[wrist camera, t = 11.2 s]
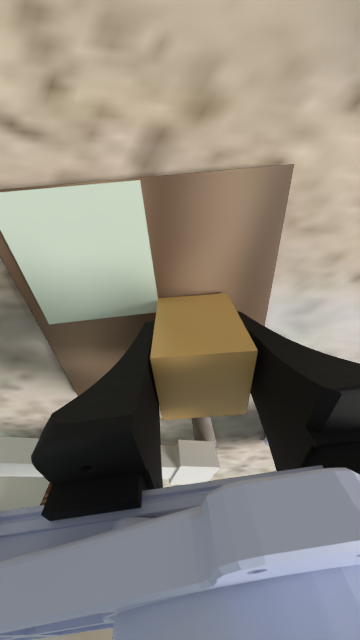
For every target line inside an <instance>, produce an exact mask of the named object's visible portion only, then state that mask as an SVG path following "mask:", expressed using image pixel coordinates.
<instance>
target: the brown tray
mask: <svg viewBox="0 0 360 640" xmlns="http://www.w3.org/2000/svg"><path fill="white" fill-rule="evenodd" d="M293 168H294V164H289V165H278V166H266V167H255V168H244V169H232V170H221V171H209V172H198V173H186V174H175V175H164V176H152V177H141V178H129V179H118V180H106V181H95V182H84V183H72V184H61V185H49V186H38V187H26V188H15V189H4V190H0V192H10V191H21V190H32V189H44V188H55V187H66V186H78V185H89V184H101V183H112V182H123V181H135V180H140V183H141V190H142V196H143V203H144V209H145V216H146V223H147V229H148V236H149V243H150V249H151V256H152V262H153V269H154V276H155V282H156V289H157V296H158V298H168V297H182V296H195V295H208V294H222V293H227V294H228V296H229V298H230V300H231V302H232V303H233V305H234V307H235V309H236V311H237V312H238V311H240V312H242V313H243V314H245V315H247V316H248V317H250V318H252V319H253V320H255V321H256V322H258V323H260V324H261V325H263V326H265V320H266V315H267V309H268V304H269V298H270V293H271V288H272V282H273V277H274V271H275V266H276V260H277V255H278V249H279V244H280V239H281V233H282V228H283V222H284V217H285V211H286V206H287V200H288V195H289V190H290V184H291V179H292V173H293ZM0 256H1V258H2V260H3V261H4V263H5V265H6V267H7V269H8V270H9V272H10V274H11V276H12V278H13V279H14V281H15V283H16V285H17V287H18V289H19V290H20V292H21V294H22V296H23V298H24V299H25V301H26V303H27V305H28V307H29V308H30V310H31V312H32V314H33V316H34V317H35V319H36V321H37V323H38V325H39V326H40V328H41V330H42V332H43V334H44V336H45V337H46V339H47V341H48V343H49V345H50V346H51V348H52V350H53V352H54V354H55V355H56V357H57V359H58V361H59V363H60V364H61V366H62V368H63V370H64V372H65V374H66V375H67V377H68V379H69V381H70V383H71V384H72V386H73V388H74V390H75V392H76V393H77V395H78V396H79V395H81V394H82V393H83V392H85V391H86V390H87V389H89V388H90V387H91V386H92V385H94V384H95V383H96V382H97V381H98V380H99V379H101V378H102V377H103V376H104V375H105V374H106V373H107V372H108V371H109V370H110V369H111V368H112V367H113V366H114V365H115V364H116V363H117V362H118V361H119V360H120V358H121V357H122V356H123V355H124V354H125V352H126V351H127V350H128V348H129V347H130V346H131V344H132V343H133V341H134V340H135V338H136V337H137V335H138V333H139V332H140V330H141V328H142V327H143V325H144V323H145V322H150V321H155V318H156V312H154V313H145V314H137V315H128V316H119V317H110V318H101V319H92V320H84V321H75V322H66V323H57V324H49V323H48V321H47V319H46V317H45V315H44V313H43V311H42V310H41V308H40V306H39V304H38V302H37V300H36V298H35V296H34V294H33V292H32V290H31V288H30V286H29V284H28V283H27V281H26V279H25V277H24V275H23V273H22V271H21V269H20V267H19V265H18V263H17V261H16V259H15V257H14V255H13V254H12V252H11V250H10V248H9V246H8V244H7V242H6V240H5V238H4V236H3V234H2V232H1V230H0ZM192 424H193V431H194V437H195V441H211V442H214V444H215V449H216V447H217V443H216V439H215V435H214V430H213V426H212V422H211V418H210V417H199V418H192Z"/></svg>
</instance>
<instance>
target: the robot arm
mask: <svg viewBox="0 0 360 640" xmlns="http://www.w3.org/2000/svg"><path fill="white" fill-rule="evenodd" d="M237 313H238V315H239V316H240V318H241V320H242V322H243V324H244V326H245V327H246V329H247V331H248V333H249V335H250V337H251V339H252V340H253V342H254V344H255V346H256V348H257V350H258V353H257V358H256V364H255V369H254V374H253V380H252V385H251V390H250V393H251V395H252V398H253V401H254V403H255V406H256V409H257V411H258V414H259V417H260V420H261V423H262V426H263V429H264V432H265V435H266V436H265V440H264V442H265V444H266V445H269V447H270V450H271V453H272V457H273V460H274V463H275V467H276V470H277V472H270V473H263V474H256V475H249V476H242V477H235V478H228V479H221V480H214V481H208V482H201V483H194V484H187V485H180V486H173V487H166V488H163V483H162V464H161V442H160V415H159V400H158V395H157V390H156V385H155V380H154V375H153V370H152V365H151V360H150V355H151V348H152V340H153V333H154V325H155V321H150V322H145V323H144V325H143V327H142V328H141V330H140V332H139V333H138V335H137V337H136V338H135V340H134V341H133V343H132V344H131V346H130V347H129V348H128V350H127V351H126V352H125V354H124V355H123V356H122V357H121V358H120V360H119V361H118V362H117V363H116V364H115V365H114V366H113V367H112V368H111V369H110V370H109V371H108V372H107V373H106V374H105V375H104V376H103V377H102V378H101V379H99V380H98V381H97V382H96V383H95V384H94V385H92V386H91V387H90V388H89V389H87V390H86V391H85V392H83V393H82V394H81V395H79V396H78V397H76V398H75V399H74V400H72V401H71V402H69V403H68V404H66V405H65V406H63V407H62V408H60V409H59V410H57V411H55V412H54V413H52V415H51V417H50V418H49V420H48V422H47V424H46V426H45V428H44V430H43V432H42V434H41V436H40V438H39V440H38V442H37V445H36V447H35V449H34V451H33V453H32V455H31V462H32V464H33V466H34V467H35V468H36V470H37V471H38V472H40V473H41V474H42V475H43V476H44V477H45V478H46V479H47V480H48V481H49V482H50V483H51V484H52V486H51V489H50V491H49V494H48V497H47V500H46V502H45V505H41V506H34V507H28V508H20V509H14V510H7V511H0V640H32V639H39V638H46V637H53V636H59V635H66V634H73V633H80V632H86V631H93V630H100V629H107V628H113V627H114V628H113V637H112V640H360V364H359V363H355V362H351V361H348V360H344V359H341V358H337V357H334V356H331V355H327V354H324V353H322V352H319V351H316V350H313V349H310V348H308V347H305V346H303V345H300V344H298V343H296V342H294V341H291V340H289V339H287V338H285V337H283V336H281V335H279V334H277V333H275V332H273V331H272V330H270V329H268V328H266V327H265V326H263V325H261V324H260V323H258V322H256V321H255V320H253V319H252V318H250V317H248V316H247V315H245V314H243V313H242V312H240V311H238V312H237Z"/></svg>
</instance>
